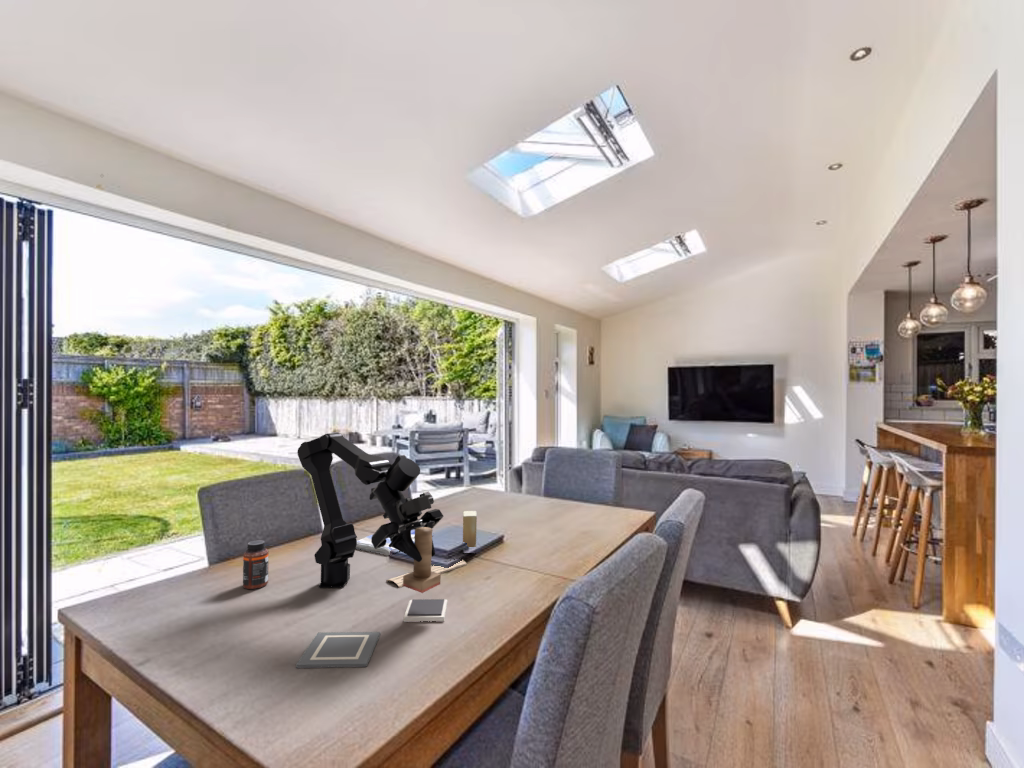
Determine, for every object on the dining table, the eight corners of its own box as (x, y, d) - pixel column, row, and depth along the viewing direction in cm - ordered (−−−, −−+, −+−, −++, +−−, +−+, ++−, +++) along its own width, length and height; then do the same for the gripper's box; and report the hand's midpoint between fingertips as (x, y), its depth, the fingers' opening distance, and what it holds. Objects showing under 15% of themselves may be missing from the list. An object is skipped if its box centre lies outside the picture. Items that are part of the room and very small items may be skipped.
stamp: (402, 585, 113) (404, 530, 112) (421, 577, 118) (423, 524, 117) (422, 593, 109) (424, 535, 109) (440, 584, 114) (442, 529, 114)
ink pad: (403, 621, 110) (403, 615, 110) (410, 604, 119) (410, 598, 119) (444, 621, 111) (444, 615, 111) (447, 603, 120) (447, 597, 120)
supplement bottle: (273, 583, 130) (274, 540, 131) (253, 591, 125) (254, 547, 125) (257, 579, 133) (258, 537, 133) (237, 587, 128) (238, 543, 128)
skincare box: (462, 547, 161) (463, 510, 161) (476, 547, 161) (476, 510, 161) (462, 554, 154) (462, 515, 154) (476, 554, 155) (476, 515, 155)
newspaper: (398, 590, 129) (398, 583, 129) (383, 583, 133) (384, 576, 133) (466, 567, 146) (466, 561, 146) (451, 561, 151) (451, 555, 151)
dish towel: (347, 549, 160) (348, 540, 160) (396, 530, 181) (396, 523, 181) (389, 558, 152) (389, 549, 152) (434, 538, 173) (434, 530, 173)
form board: (296, 667, 92) (296, 664, 92) (318, 635, 104) (318, 632, 104) (366, 666, 93) (366, 663, 93) (380, 634, 104) (380, 631, 104)
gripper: (380, 488, 108) (416, 549, 102) (438, 476, 123) (472, 528, 117) (356, 519, 112) (389, 578, 106) (415, 503, 128) (446, 554, 122)
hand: (427, 558), depth 113 cm, fingers closed on stamp, 4 cm apart
